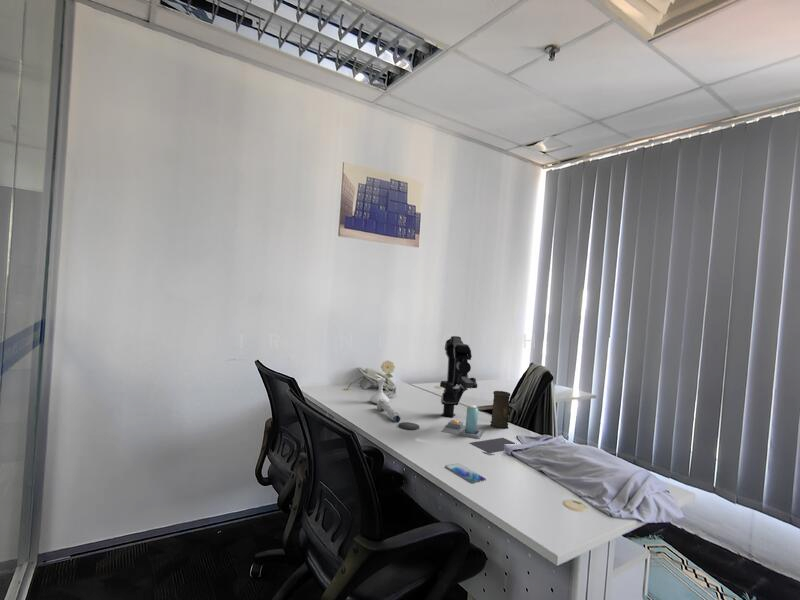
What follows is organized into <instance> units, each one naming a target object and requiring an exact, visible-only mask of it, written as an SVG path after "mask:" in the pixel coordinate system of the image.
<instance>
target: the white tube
mask: <svg viewBox="0 0 800 600" xmlns="http://www.w3.org/2000/svg"><path fill="white" fill-rule="evenodd" d="M376 410H377V411H379V412H385V413H386V414H387V415H388V417H389V419H390V420H391V421H392V420H393V421H392V422H393V423H394V422H396V423H400V422H401V416H400V414H399V413H398V412H397V411H395V410H394V409H393V408H392V407H391V406H390V405H389V404H388V403H386V400H385V399H380V400H379V403H376Z"/></svg>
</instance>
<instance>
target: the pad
mask: <svg viewBox="0 0 800 600" xmlns="http://www.w3.org/2000/svg"><path fill="white" fill-rule="evenodd" d="M398 428H400V429H402V428H403V429H402V430H405V429H407V431H416V429H417V430H419V429H420V425H419V424H417V423H414V422H411V421H410V422H398Z"/></svg>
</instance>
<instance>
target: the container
mask: <svg viewBox="0 0 800 600" xmlns="http://www.w3.org/2000/svg"><path fill="white" fill-rule="evenodd" d="M492 394H493V403H492V415H491V420H490V425H489V426H490V427H492V428H495V429H498V430H506V429H507V430H508V429H509V411H510V410H509V409H510V397H511V393H510V392H507V391H503V390H494V391H493V393H492Z"/></svg>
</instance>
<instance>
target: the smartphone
mask: <svg viewBox="0 0 800 600" xmlns="http://www.w3.org/2000/svg"><path fill="white" fill-rule="evenodd" d="M444 468H445V469H447V470H448V469H449V471H450V470H451V471H450V472H452V473H453V472H454V474H455V473H456V474H455V475H457V476H458V475H459V477H460V478H461V479H463V478H464V479H463V480H465V481H467V482H468V481H469V484H477V483H481V482H485V481H487V479H486V478H485V477H483V476H482V475H480V474H478V473H477V472H475V471H473V470H471V469H470V468H468V467H466V466H465V465H462V464H461V463H452V464H451V463H450V464H446V465H445V466H444ZM484 480H485V481H484ZM480 481H481V482H480ZM476 482H477V483H476Z"/></svg>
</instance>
